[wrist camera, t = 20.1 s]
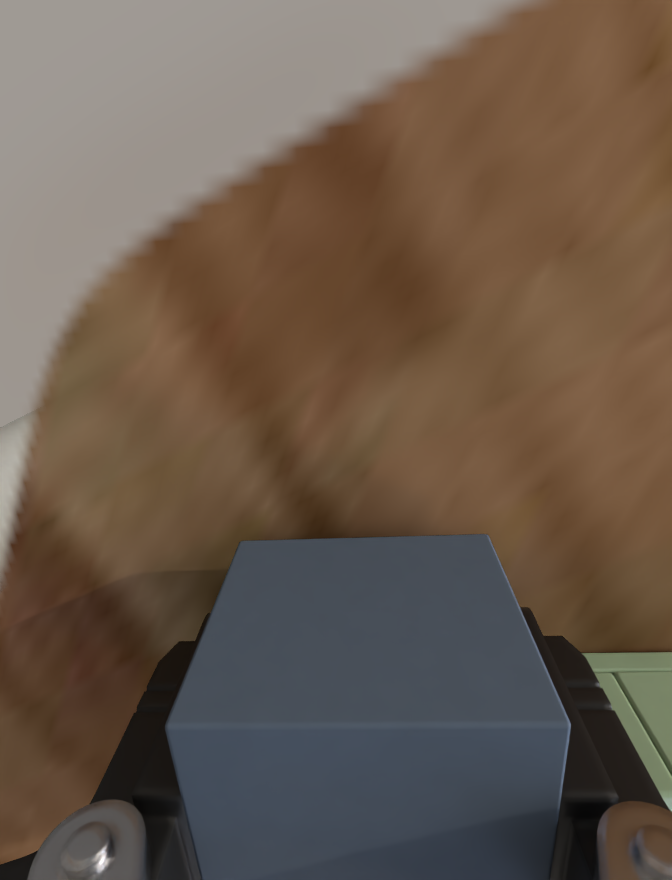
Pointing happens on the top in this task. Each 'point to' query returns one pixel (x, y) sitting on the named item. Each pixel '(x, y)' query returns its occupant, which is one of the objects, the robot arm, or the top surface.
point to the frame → (642, 706)
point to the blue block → (369, 717)
